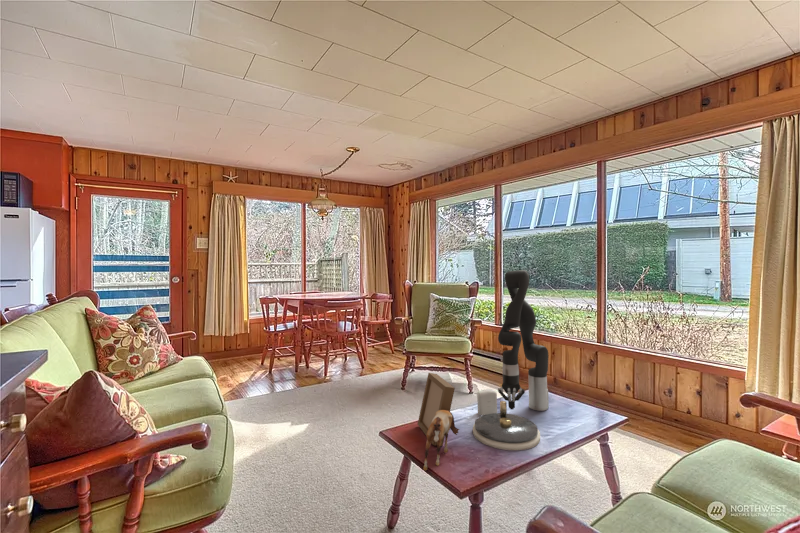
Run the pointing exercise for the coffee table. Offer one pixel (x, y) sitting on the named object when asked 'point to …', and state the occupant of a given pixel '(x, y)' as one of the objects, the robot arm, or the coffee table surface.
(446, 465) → the coffee table surface
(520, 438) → the handwheel
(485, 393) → the photo printer
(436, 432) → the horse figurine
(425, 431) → the photo frame
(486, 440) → the base plate
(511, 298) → the robot arm
